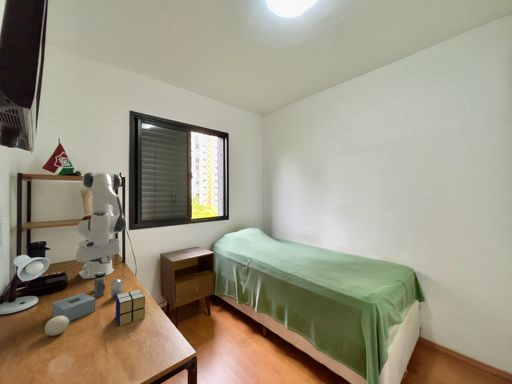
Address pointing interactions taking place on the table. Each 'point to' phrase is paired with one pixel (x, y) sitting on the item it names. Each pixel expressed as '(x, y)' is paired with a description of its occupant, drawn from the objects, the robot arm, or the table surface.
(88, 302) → the socket block
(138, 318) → the puzzle cube
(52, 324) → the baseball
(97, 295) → the square bit
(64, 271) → the table surface
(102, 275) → the push button
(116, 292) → the round bit
